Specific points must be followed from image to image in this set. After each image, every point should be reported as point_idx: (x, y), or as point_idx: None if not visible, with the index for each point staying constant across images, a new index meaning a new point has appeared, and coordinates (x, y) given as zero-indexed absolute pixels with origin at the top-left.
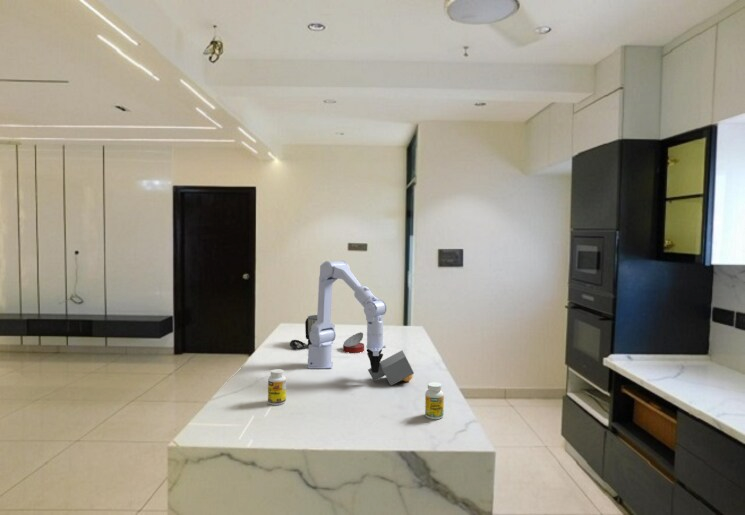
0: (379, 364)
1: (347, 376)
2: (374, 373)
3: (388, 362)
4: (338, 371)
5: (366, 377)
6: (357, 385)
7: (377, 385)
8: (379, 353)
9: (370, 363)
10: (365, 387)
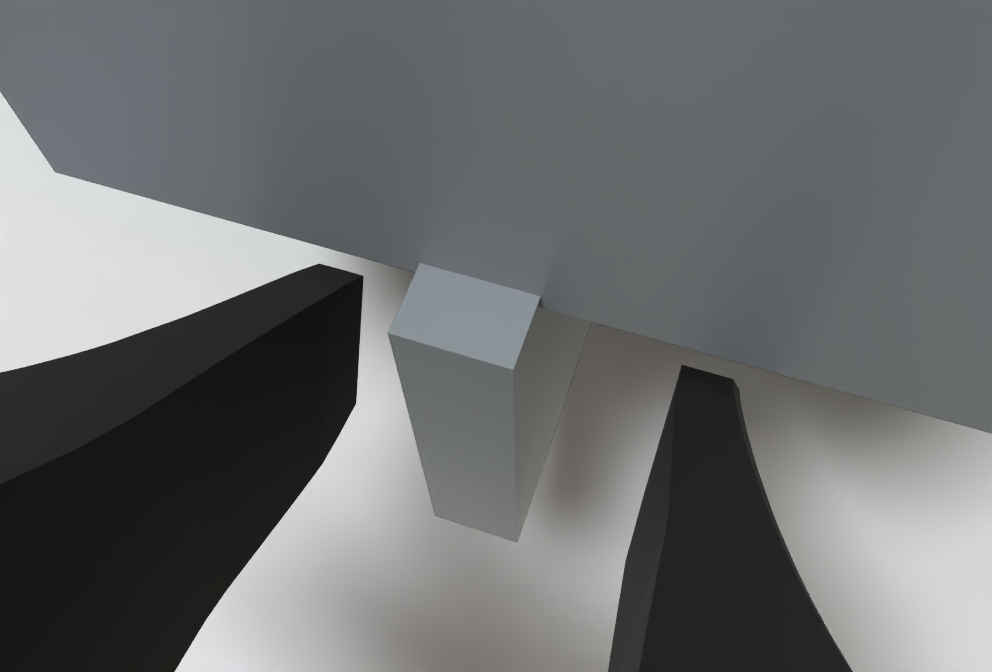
0: (779, 543)
1: None
2: (564, 358)
3: (623, 101)
4: None
5: None
6: None
7: None
8: (9, 527)
9: (278, 518)
10: (899, 516)
